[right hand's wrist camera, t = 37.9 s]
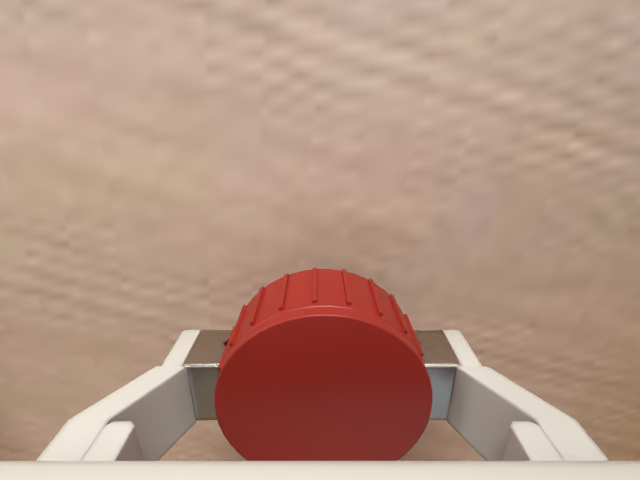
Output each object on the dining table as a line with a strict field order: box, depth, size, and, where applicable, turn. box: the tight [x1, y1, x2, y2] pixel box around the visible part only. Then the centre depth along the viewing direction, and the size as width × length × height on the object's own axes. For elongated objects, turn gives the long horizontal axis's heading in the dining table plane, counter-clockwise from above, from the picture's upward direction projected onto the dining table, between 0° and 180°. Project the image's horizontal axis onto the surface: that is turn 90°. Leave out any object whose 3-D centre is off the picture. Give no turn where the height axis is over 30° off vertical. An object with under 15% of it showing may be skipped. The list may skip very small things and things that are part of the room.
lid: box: [214, 268, 433, 461], centre depth 9 cm, size 5×5×2 cm
